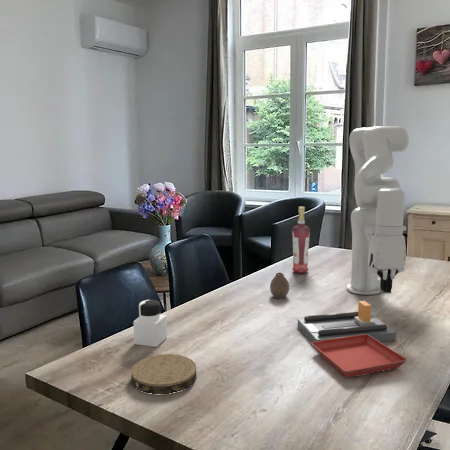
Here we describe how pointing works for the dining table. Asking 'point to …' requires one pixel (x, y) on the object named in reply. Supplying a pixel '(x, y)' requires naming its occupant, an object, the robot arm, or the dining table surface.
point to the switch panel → (342, 327)
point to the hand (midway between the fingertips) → (385, 291)
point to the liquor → (300, 244)
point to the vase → (279, 286)
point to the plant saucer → (358, 354)
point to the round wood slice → (163, 374)
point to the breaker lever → (364, 314)
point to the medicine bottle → (150, 324)
